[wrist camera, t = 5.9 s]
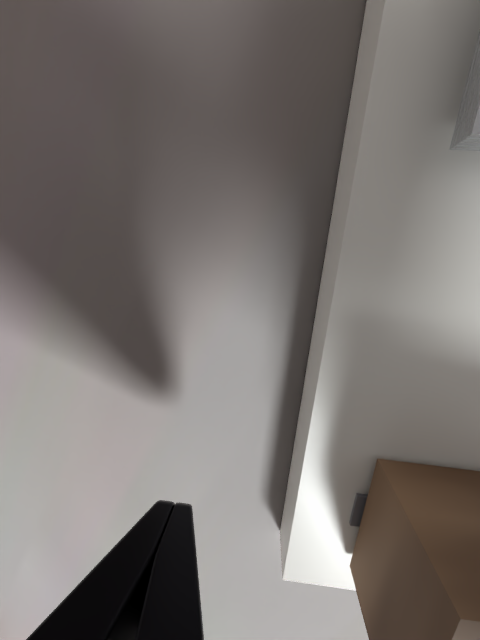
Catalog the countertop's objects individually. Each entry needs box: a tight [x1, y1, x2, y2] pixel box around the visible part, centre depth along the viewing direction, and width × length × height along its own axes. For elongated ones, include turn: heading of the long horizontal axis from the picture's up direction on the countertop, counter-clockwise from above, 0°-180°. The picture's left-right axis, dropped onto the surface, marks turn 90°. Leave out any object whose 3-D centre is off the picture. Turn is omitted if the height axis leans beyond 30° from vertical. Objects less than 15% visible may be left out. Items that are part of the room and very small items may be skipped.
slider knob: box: [350, 458, 480, 640], centre depth 6 cm, size 4×4×3 cm
